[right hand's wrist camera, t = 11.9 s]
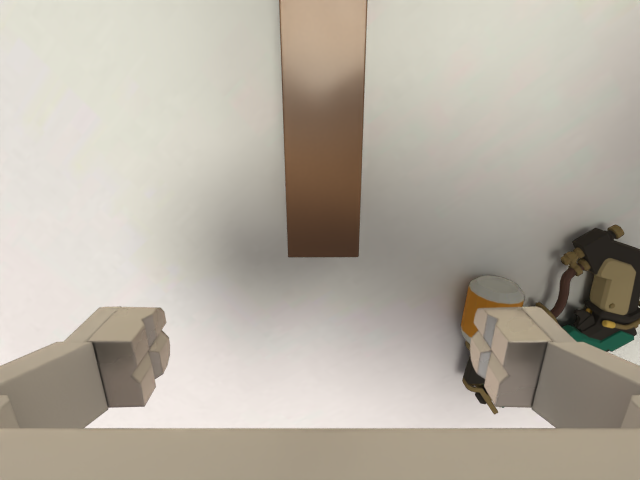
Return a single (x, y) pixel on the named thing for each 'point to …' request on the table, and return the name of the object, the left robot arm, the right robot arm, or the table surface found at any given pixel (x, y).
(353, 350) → the table surface
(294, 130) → the beam
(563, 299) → the spray gun
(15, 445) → the right robot arm
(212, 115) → the table surface
